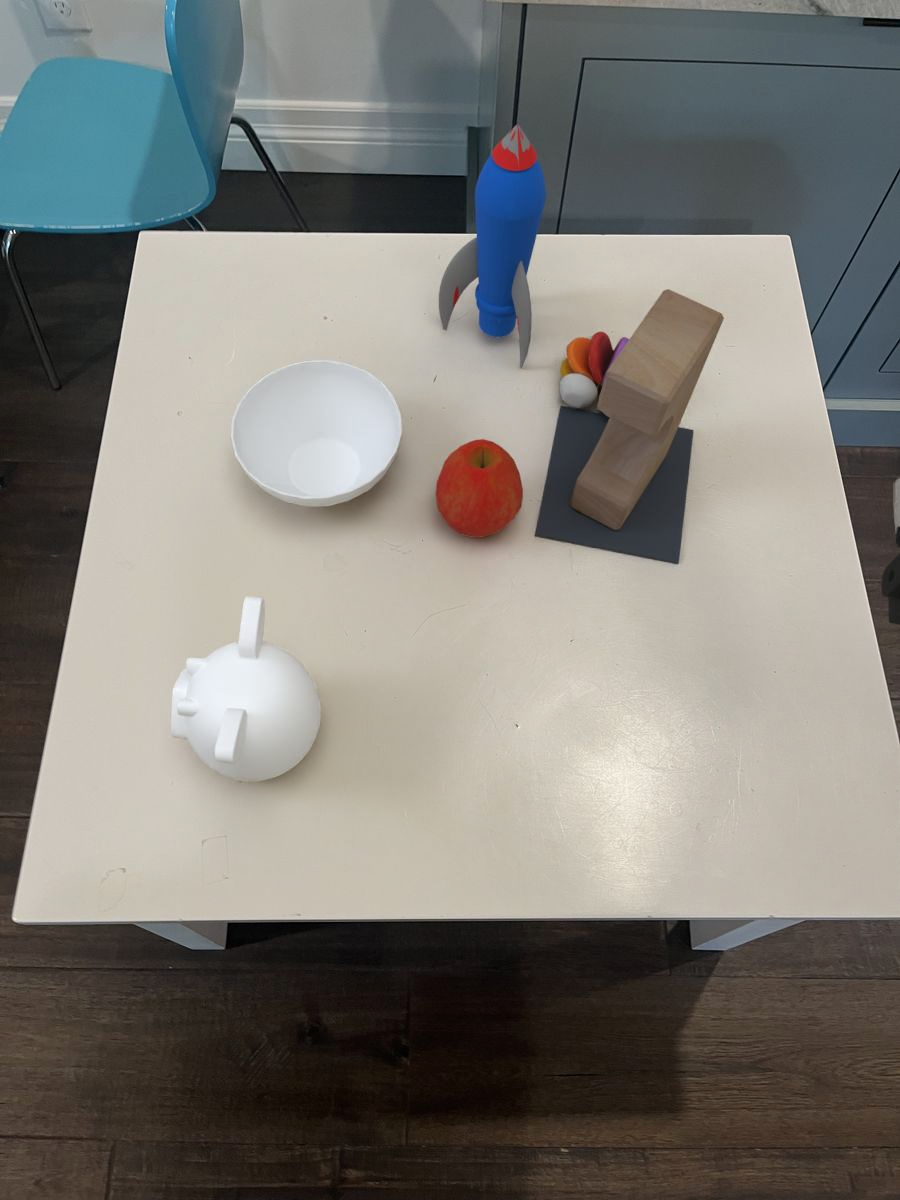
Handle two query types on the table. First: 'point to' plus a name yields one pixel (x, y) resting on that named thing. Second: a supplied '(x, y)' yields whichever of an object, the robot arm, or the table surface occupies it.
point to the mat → (654, 514)
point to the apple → (479, 489)
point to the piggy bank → (247, 704)
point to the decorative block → (645, 405)
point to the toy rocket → (501, 242)
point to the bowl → (317, 432)
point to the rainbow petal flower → (587, 368)
